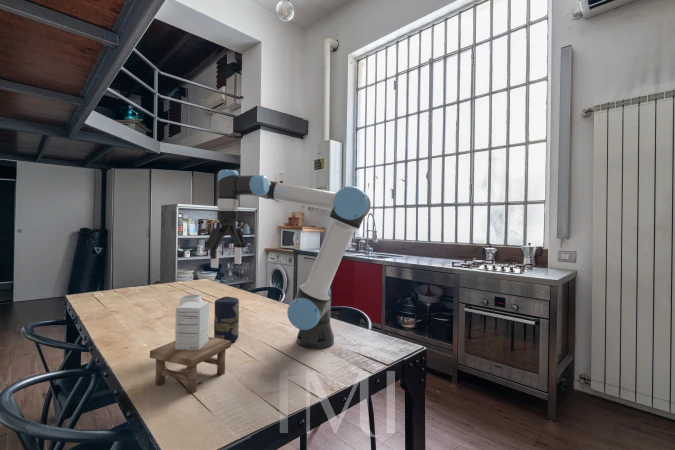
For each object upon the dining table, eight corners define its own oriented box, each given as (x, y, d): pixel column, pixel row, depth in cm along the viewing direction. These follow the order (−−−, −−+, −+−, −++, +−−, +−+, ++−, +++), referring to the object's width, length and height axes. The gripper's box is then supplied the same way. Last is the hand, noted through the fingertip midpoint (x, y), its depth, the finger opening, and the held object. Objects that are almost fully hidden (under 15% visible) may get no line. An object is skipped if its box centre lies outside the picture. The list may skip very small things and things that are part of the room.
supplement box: (185, 341, 102) (186, 301, 102) (209, 341, 102) (210, 301, 102) (174, 350, 95) (174, 307, 95) (199, 350, 95) (199, 307, 95)
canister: (230, 346, 125) (231, 299, 125) (208, 343, 127) (209, 298, 127) (242, 337, 135) (243, 294, 135) (222, 335, 136) (223, 293, 137)
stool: (230, 371, 103) (230, 340, 103) (191, 396, 88) (192, 359, 88) (191, 363, 109) (192, 334, 109) (149, 385, 94) (149, 350, 94)
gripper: (239, 212, 137) (238, 261, 137) (195, 208, 113) (194, 268, 113) (254, 212, 134) (253, 262, 134) (213, 208, 111) (212, 270, 111)
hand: (226, 265), depth 124 cm, fingers open, 13 cm apart
